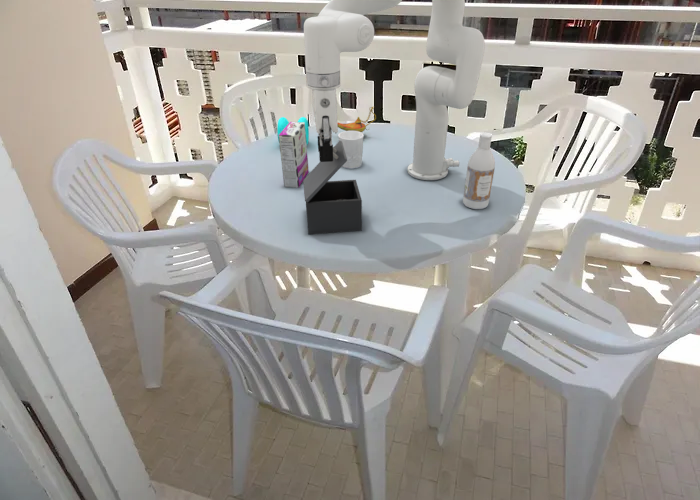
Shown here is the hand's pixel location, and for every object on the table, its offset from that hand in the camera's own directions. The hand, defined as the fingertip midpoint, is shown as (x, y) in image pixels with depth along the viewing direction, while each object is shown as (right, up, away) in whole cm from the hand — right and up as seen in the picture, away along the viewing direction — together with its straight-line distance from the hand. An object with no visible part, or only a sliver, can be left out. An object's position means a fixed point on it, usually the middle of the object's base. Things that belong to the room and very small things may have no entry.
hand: (325, 155), depth 116 cm
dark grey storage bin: (+1, -15, +10) cm, 18 cm away
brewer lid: (0, -4, +2) cm, 4 cm away
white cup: (+6, +5, +40) cm, 41 cm away
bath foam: (+41, -10, +17) cm, 45 cm away
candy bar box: (-11, -2, +31) cm, 33 cm away
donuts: (-14, +14, +54) cm, 58 cm away
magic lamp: (+6, +18, +60) cm, 63 cm away
